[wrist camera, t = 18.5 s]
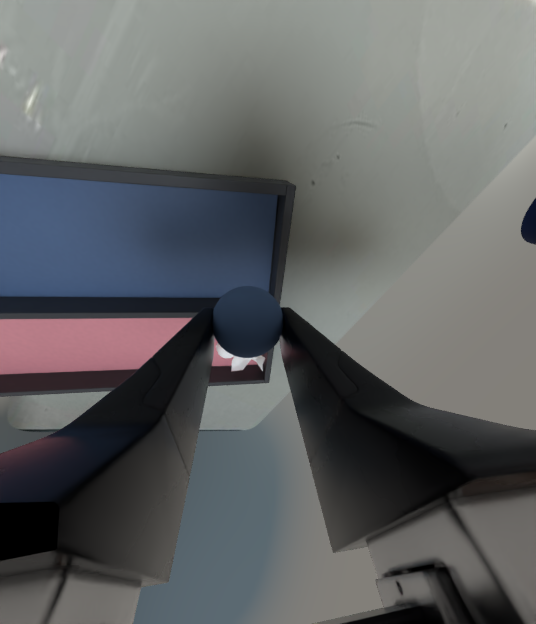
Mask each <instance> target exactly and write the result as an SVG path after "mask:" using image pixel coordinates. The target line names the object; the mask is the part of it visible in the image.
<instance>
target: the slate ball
mask: <svg viewBox="0 0 536 624" xmlns="http://www.w3.org/2000/svg"><path fill="white" fill-rule="evenodd" d="M212 326H213V334H214V337H215V339H216V341H217V342H218V344H219V345H220V346H221V347H222V348H223V349H224V350H225V351H227V352H228V353H230V354H232V355H234V356H237V357H241V358H253V357H258V356H261V355H263V354H265V353H267V352H268V351H269V350H271V349H272V348H273V347H274V346H275V345H276V343H277V342H278V340H279V339H280V337H281V334H282V331H283V313H282V310H281V307H280V305H279V303H278V302H277V300H276V299H275V298H274V297H273V296H272V295H271V294H270V293H268V292H267V291H265V290H263V289H261V288H258V287H254V286H242V287H237V288H234V289H232V290H230V291H228V292H227V293H226V294H224V295H223V296H222V297H221V298H220V299H219V301H218V302H217V304H216V306H215V307H214V310H213V319H212Z"/></svg>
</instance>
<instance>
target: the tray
mask: <svg viewBox="0 0 536 624" xmlns="http://www.w3.org/2000/svg"><path fill="white" fill-rule="evenodd" d="M295 190H296V186H295V185H294V184H292V183H290V182H288V181H285V180H273V179H261V178H250V177H238V176H227V175H215V174H203V173H192V172H180V171H169V170H157V169H145V168H134V167H122V166H111V165H99V164H87V163H76V162H64V161H53V160H41V159H30V158H18V157H6V156H0V397H3V396H23V395H43V394H62V393H82V392H101V391H113V390H114V389H115V388H116V387H118V386H119V385H120V384H121V383H122V382H124V381H125V380H126V379H127V378H129V377H130V376H131V375H132V374H133V373H134V372H136V371H137V370H138V369H139V368H140V367H141V366H142V365H143V364H144V363H145V362H147V361H148V360H149V359H150V358H151V357H153V355H154V354H155V353H156V352H157V351H158V350H159V349H160V348H161V347H163V346H164V345H165V344H166V343H167V342H168V341H169V340H170V339H171V338H172V337H173V336H174V335H175V334H176V333H177V332H178V331H180V330H181V329H182V328H183V327H184V326H185V325H186V324H187V323H188V322H189V321H190V320H191V319H192V318H193V317H194V316H195V315H196V314H198V313H199V312H200V311H201V310H202V309H203V308H214V307H215V306H216V304H217V302H218V301H219V299H220V298H221V297H222V296H223V295H224V294H226V293H227V292H228V291H230V290H232V289H234V288H237V287H242V286H254V287H258V288H261V289H263V290H265V291H267V292H268V293H270V294H271V295H272V296H273V297H274V298H275V299H276V300H277V302H278V303H279V305H280V299H281V292H282V285H283V277H284V270H285V263H286V255H287V248H288V241H289V234H290V226H291V219H292V212H293V204H294V197H295ZM217 343H218V342H217V341H216V339H215V341H214V356H213V362H212V368H211V373H210V378H209V383H208V386H219V385H239V384H258V383H269V379H270V372H271V365H272V358H273V350H274V347H273V348H272V349H271V350H269V351H268V352H267V353H265V354H263V355H261V356H263V357H265V360H264V363H263V371H262V370H261V368H260V367H259V365H258V364H257V362H255V361H254V360H252V359H251V360H250V361H249V363H248V364H247V365H246V367H245V368H244V369H243V370H239V371H231V369H232V360H233V358H234V357H232V358H223V357H221V356H220V355H219V354H218V351H217V348H216V345H217Z"/></svg>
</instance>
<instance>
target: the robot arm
mask: <svg viewBox="0 0 536 624" xmlns="http://www.w3.org/2000/svg"><path fill="white" fill-rule="evenodd" d="M213 310H214V308H203V309H202V310H201V311H200V312H199V313H198V314H196V315H195V316H194V317H193V318H192V319H191V320H190V321H189V322H188V323H187V324H186V325H185V326H184V327H183V328H182V329H181V330H180V331H178V332H177V333H176V334H175V335H174V336H173V337H172V338H171V339H170V340H169V341H168V342H167V343H166V344H165V345H164V346H163V347H161V348H160V349H159V350H158V351H157V352H156V353H155V354H154V355H153V357H151V358H150V359H149V360H148V361H147V362H145V363H144V364H143V365H142V366H141V367H140V368H139V369H138V370H137V371H136V372H134V373H133V374H132V375H131V376H130V377H129V378H127V379H126V380H125V381H124V382H122V383H121V384H120V385H119V386H118V387H116V388H115V389H114V390H113V391H111V392H110V393H109V394H107V395H106V396H105V397H104V398H102V399H101V400H100V401H99V402H97V403H96V404H95V405H93V406H92V407H91V408H90V409H88V410H87V411H86V412H85V413H83V414H82V415H81V416H79V417H78V418H77V419H75V420H74V421H73V422H71V423H70V424H68V425H67V426H65V427H64V428H62V429H60V430H59V431H57V432H55V433H53V434H51V435H49V436H47V437H44V438H42V439H39V440H36V441H34V442H31V443H28V444H26V445H23V446H20V447H18V448H15V449H12V450H9V451H7V452H3V453H1V454H0V624H133V621H134V616H135V611H136V607H137V602H138V598H139V594H140V589H141V587H145V586H151V585H157V584H162V583H167V582H168V581H169V578H170V572H171V567H172V563H173V558H174V553H175V548H176V543H177V538H178V533H179V528H180V523H181V518H182V513H183V508H184V503H185V498H186V493H187V488H188V483H189V476H190V472H191V468H192V463H193V458H194V453H195V448H196V443H197V438H198V433H199V428H200V423H201V418H202V413H203V408H204V403H205V398H206V393H207V388H208V383H209V378H210V373H211V368H212V362H213V356H214V341H215V337H214V334H213V326H212V319H213ZM281 310H282V313H283V331H282V334H281V337H280V346H281V354H282V359H283V363H284V367H285V370H286V374H287V378H288V382H289V386H290V390H291V393H292V397H293V401H294V405H295V409H296V413H297V416H298V420H299V424H300V428H301V432H302V435H303V439H304V443H305V447H306V451H307V455H308V458H309V462H310V467H311V470H312V474H313V478H314V482H315V486H316V489H317V493H318V497H319V501H320V505H321V509H322V513H323V516H324V520H325V524H326V528H327V532H328V536H329V539H330V543H331V547H332V550H333V553H336V552H341V551H347V550H353V549H358V548H364V547H368V549H369V552H370V555H371V558H372V561H373V564H374V567H375V570H376V573H377V576H378V579H376V585H377V588H378V591H379V594H380V597H381V600H382V603H383V607H384V608H380V609H376V610H371V611H367V612H362V613H358V614H353V615H349V616H345V617H340V618H336V619H331V620H327V621H323V622H318V623H314V624H536V430H529V429H523V428H517V427H512V426H507V425H503V424H498V423H494V422H490V421H486V420H481V419H477V418H473V417H468V416H464V415H459V414H455V413H451V412H447V411H442V410H438V409H434V408H430V407H426V406H424V405H420V404H418V403H416V402H414V401H412V400H410V399H408V398H407V397H405V396H404V395H402V394H401V393H399V392H398V391H397V390H395V389H394V388H392V387H391V386H389V385H388V384H387V383H385V382H384V381H382V380H381V379H379V378H378V377H376V376H375V375H373V374H372V373H371V372H369V371H368V370H366V369H365V368H364V367H362V366H361V365H360V364H358V363H357V362H356V361H355V360H353V359H352V358H351V357H349V356H348V355H347V354H346V353H345V352H343V351H341V349H340V348H338V347H337V346H336V345H335V344H333V343H332V342H331V341H330V340H329V339H327V338H326V337H325V336H324V335H322V334H321V333H320V332H319V331H318V330H316V329H315V328H314V327H313V326H312V325H310V324H309V323H308V322H307V321H305V320H304V319H303V318H302V317H301V316H299V315H298V314H297V313H296V312H294V311H293V310H292V309H291V308H289V307H282V308H281Z"/></svg>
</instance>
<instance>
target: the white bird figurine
mask: <svg viewBox="0 0 536 624" xmlns="http://www.w3.org/2000/svg"><path fill="white" fill-rule="evenodd" d="M216 348H217V351H218V354H219V355H220V356H221V357H223V358H232V357H234V358H233V360H232V369H231V371H239V370H243V369H244V368H245V367H246V365H247V364H248V363H249V361H250V360H251V359H252V360H254V361H255V362H257V364H258V365H259V367H260V368H261V370H262V371H263V363H264V360H265V357H263V356H258V357H253V358H241V357H237V356H234V355H232V354H230V353H228V352H227V351H225V350H224V349H223V348H222V347H221V346H220V345H219V344H218V343H217V345H216Z"/></svg>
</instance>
